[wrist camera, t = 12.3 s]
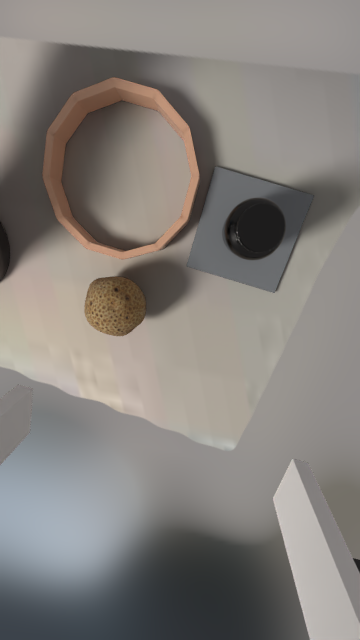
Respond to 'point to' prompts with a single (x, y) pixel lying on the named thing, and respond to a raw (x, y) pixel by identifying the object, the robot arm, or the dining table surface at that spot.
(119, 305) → the natural sponge
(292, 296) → the dining table surface
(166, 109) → the pink polygonal hoop
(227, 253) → the mat
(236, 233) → the supplement bottle
